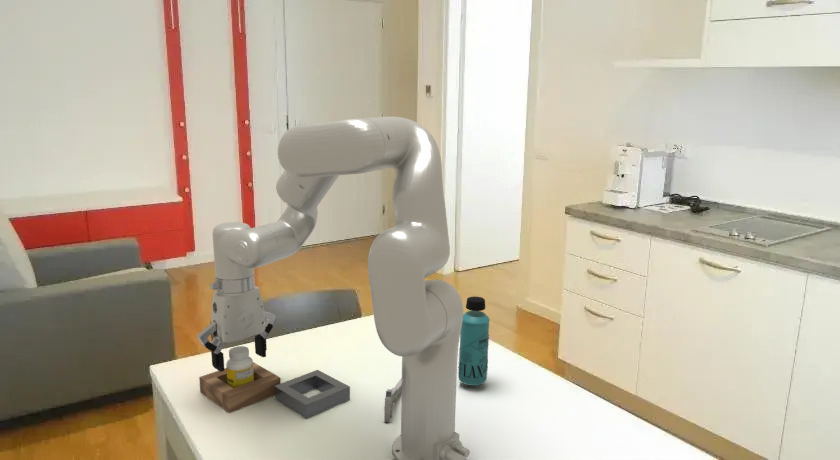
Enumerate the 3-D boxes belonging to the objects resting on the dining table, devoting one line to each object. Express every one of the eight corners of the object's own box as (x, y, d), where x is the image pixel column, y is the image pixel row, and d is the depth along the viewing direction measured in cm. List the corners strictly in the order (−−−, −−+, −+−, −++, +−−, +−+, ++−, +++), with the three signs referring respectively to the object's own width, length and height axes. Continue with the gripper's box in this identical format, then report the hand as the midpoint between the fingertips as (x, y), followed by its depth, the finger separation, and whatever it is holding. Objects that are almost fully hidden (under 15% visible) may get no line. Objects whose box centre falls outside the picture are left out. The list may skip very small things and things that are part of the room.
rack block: (281, 392, 132) (280, 377, 131) (229, 412, 123) (228, 396, 123) (250, 374, 140) (250, 360, 139) (200, 392, 132) (199, 377, 131)
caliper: (389, 424, 121) (389, 394, 119) (384, 424, 121) (384, 394, 119) (409, 378, 140) (410, 352, 139) (404, 377, 140) (405, 351, 139)
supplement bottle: (226, 389, 133) (223, 346, 131) (252, 385, 135) (250, 342, 133) (229, 401, 128) (227, 356, 126) (256, 396, 130) (254, 352, 128)
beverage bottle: (452, 387, 135) (455, 300, 131) (464, 375, 141) (467, 291, 137) (480, 394, 132) (484, 305, 128) (491, 382, 138) (495, 296, 134)
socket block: (350, 399, 129) (349, 386, 129) (306, 418, 122) (306, 404, 121) (317, 382, 137) (317, 369, 136) (274, 399, 129) (274, 386, 128)
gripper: (204, 297, 118) (210, 381, 121) (282, 278, 130) (285, 355, 133) (186, 289, 123) (192, 369, 126) (262, 271, 135) (266, 345, 139)
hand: (240, 362), depth 130 cm, fingers open, 9 cm apart
